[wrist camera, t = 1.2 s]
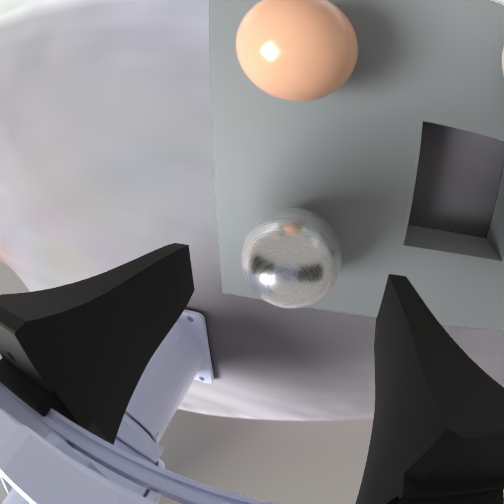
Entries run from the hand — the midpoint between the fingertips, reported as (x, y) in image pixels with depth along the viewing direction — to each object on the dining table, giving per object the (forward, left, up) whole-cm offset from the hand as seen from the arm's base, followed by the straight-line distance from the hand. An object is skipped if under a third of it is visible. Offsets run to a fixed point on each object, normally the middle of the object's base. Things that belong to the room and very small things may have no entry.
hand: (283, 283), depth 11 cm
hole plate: (+4, +4, -6) cm, 9 cm away
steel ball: (0, 0, -2) cm, 2 cm away
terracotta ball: (0, +8, -2) cm, 8 cm away
